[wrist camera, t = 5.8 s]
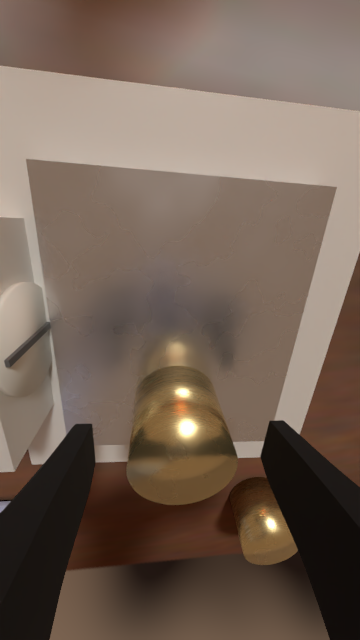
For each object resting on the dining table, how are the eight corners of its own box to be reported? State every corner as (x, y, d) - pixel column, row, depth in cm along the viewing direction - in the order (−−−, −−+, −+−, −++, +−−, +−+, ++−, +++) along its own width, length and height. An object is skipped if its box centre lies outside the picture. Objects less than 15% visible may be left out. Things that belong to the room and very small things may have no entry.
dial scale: (43, 441, 17) (-10, 543, 12) (-26, 85, 10) (-254, -86, 4) (280, 435, 19) (330, 522, 14) (369, 131, 12) (554, 52, 6)
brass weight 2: (226, 510, 22) (239, 567, 19) (233, 477, 21) (249, 532, 17) (271, 507, 23) (293, 562, 19) (281, 475, 21) (307, 528, 18)
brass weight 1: (135, 431, 14) (127, 507, 10) (134, 365, 12) (125, 428, 8) (210, 429, 14) (229, 502, 11) (219, 365, 13) (246, 425, 9)
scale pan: (73, 431, 15) (68, 445, 14) (38, 164, 10) (25, 158, 9) (262, 428, 16) (268, 441, 15) (321, 189, 11) (337, 186, 10)
